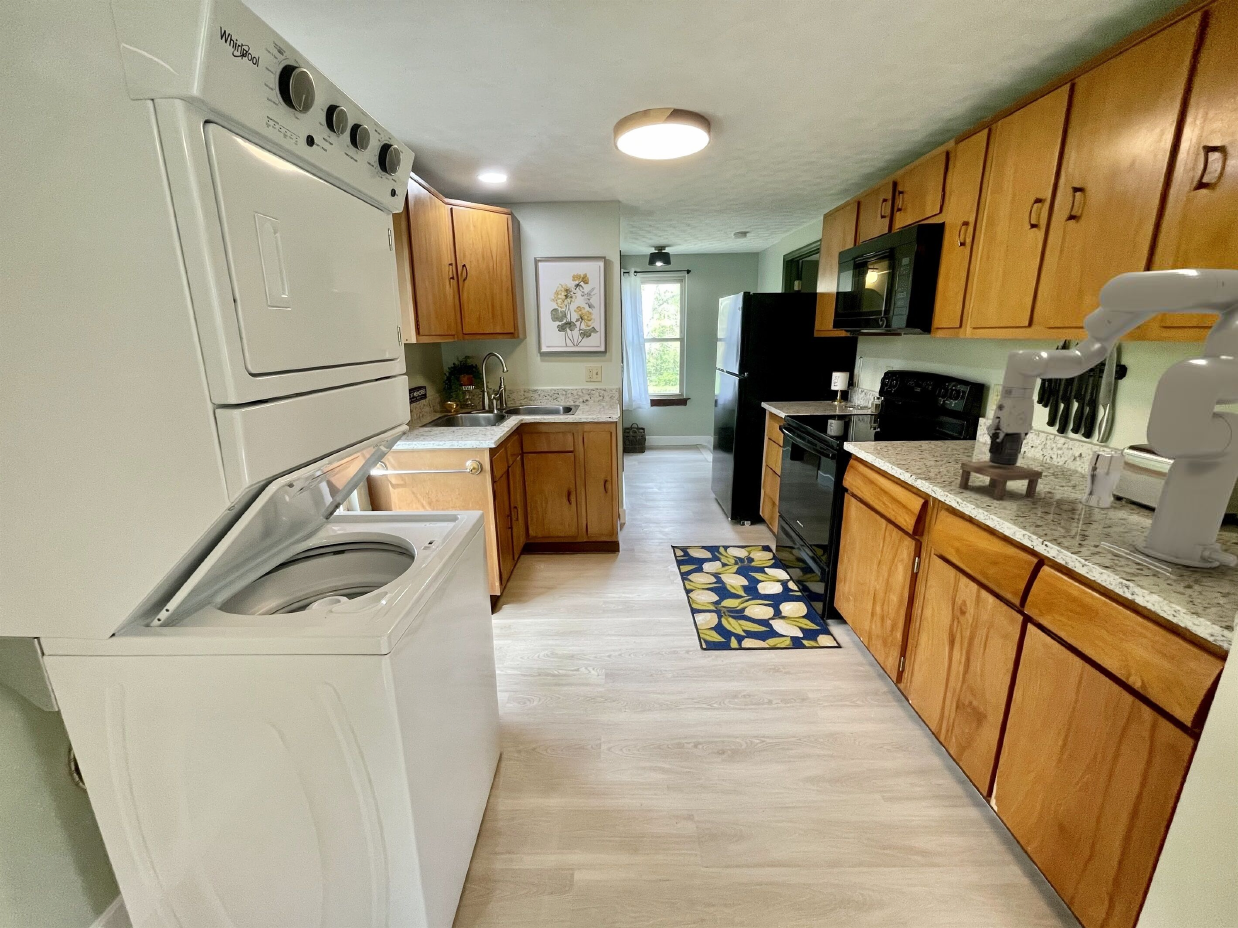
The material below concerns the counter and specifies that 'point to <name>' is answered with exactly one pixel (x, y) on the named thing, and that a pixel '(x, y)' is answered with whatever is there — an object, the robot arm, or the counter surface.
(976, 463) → the walnut stool
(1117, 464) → the beer glass
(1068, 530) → the counter surface
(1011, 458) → the supplement bottle
